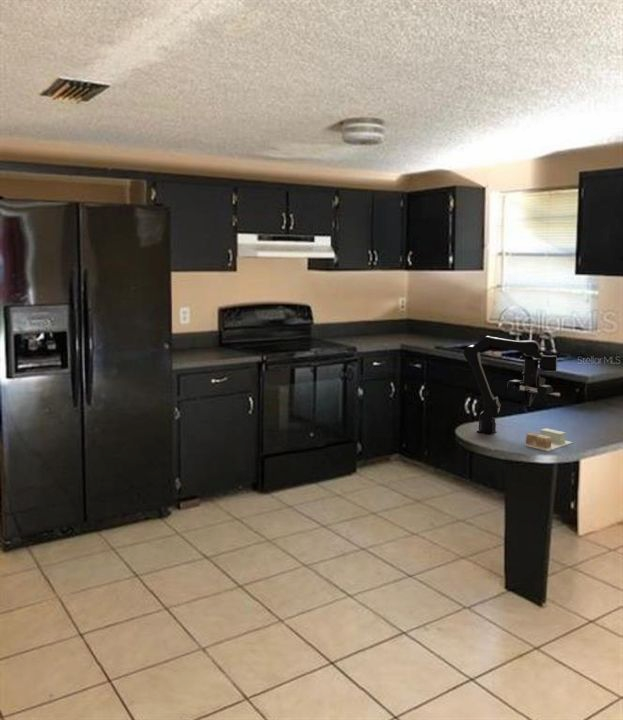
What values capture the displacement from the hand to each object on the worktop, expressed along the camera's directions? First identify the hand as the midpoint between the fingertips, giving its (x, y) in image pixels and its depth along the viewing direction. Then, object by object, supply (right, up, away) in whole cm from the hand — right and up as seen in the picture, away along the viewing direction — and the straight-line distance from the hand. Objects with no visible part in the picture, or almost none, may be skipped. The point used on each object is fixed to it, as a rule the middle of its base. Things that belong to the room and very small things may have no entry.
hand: (528, 406), depth 294 cm
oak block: (-3, -12, -10) cm, 16 cm away
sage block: (+5, -11, -2) cm, 13 cm away
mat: (+5, -15, -10) cm, 19 cm away
